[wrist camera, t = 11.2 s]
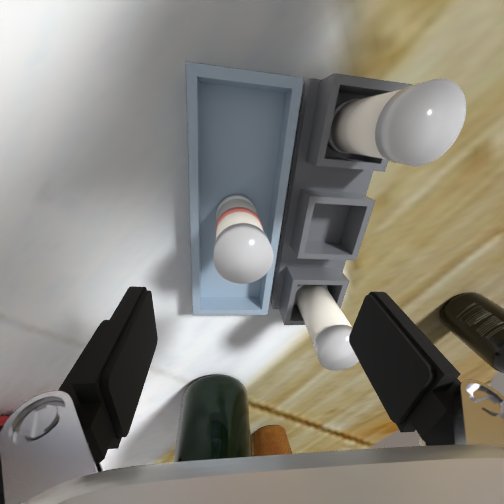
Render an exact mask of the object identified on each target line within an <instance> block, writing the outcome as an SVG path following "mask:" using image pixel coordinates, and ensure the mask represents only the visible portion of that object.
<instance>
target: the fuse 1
mask: <svg viewBox="0 0 504 504" xmlns="http://www.w3.org/2000/svg"><path fill="white" fill-rule="evenodd" d="M294 301H295V303H296V304H297V306H298V308H299V311H300V313H301V315H302V318H303V320H304V322H305V325H306V327H307V330H308V332H309V334H310V337H311V339H312V342H313V344H314V349H315V351H316V354H317V356H318V359H319V361H320V363H321V365H322V366H323V367H324V368H326V369H328V370H334V371H337V370H344V369H347V368H350V367H352V366H354V365H355V364H357V363H358V362H359V360H358V358H357V356H356V355H355V353H354V351H353V349H352V347H351V345H350V343H349V336H350V333H351V331H352V326H351V325H350V323H349V322H348V320H347V319H346V317H345V316H344V314H343V313H342V311H341V310H340V308H339V306H338V305H337V303H336V302H335V300H334V299H333V297H332V296H331V294H330V293H329V291H328V288H327V286H326V285H297V290H296V295H295V300H294Z"/></svg>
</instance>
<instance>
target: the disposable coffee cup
mask: <svg viewBox="0 0 504 504" xmlns="http://www.w3.org/2000/svg"><path fill="white" fill-rule="evenodd" d="M283 454H292V451H291V448H290V445H289V442H288V439H287V435H286V432H285V429H284V428H283V427H281V426H277V425H270V426H265V427H262V428H260V429H259V430H257V431H256V433H255V434H254V456H268V455H283Z"/></svg>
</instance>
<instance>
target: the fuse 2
mask: <svg viewBox="0 0 504 504" xmlns="http://www.w3.org/2000/svg"><path fill="white" fill-rule="evenodd" d="M465 115H466V101H465V96H464V94H463V92H462V90H461V88H460V87H459V86H458V85H457V84H456V83H454V82H453V81H451V80H447V79H434V80H430V81H426V82H422V83H418V84H414V85H410V86H408V87H405V88H403V89H401V90H397V91H393V92H388V93H384V94H380V95H376V96H371V97H367V98H363V99H352V100H348V101H344V102H341V103H339V104H338V105H336V106H335V111H334V115H333V120H332V125H331V130H330V134H329V139H328V144H327V145H328V147H329V148H330V149H332V150H334V151H336V152H341V153H346V154H351V153H353V154H359V155H365V156H370V157H376V158H382V159H386V160H388V161H391V162H394V163H400V164H405V165H410V166H421V165H425V164H428V163H430V162H432V161H434V160H436V159H437V158H439V157H440V156H442V155H443V154H444V153H445V152H446V151H447V150H448V149H449V148H450V147H451V146H452V144H453V143H454V142H455V140H456V139H457V137H458V135H459V133H460V131H461V129H462V126H463V123H464V120H465Z"/></svg>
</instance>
